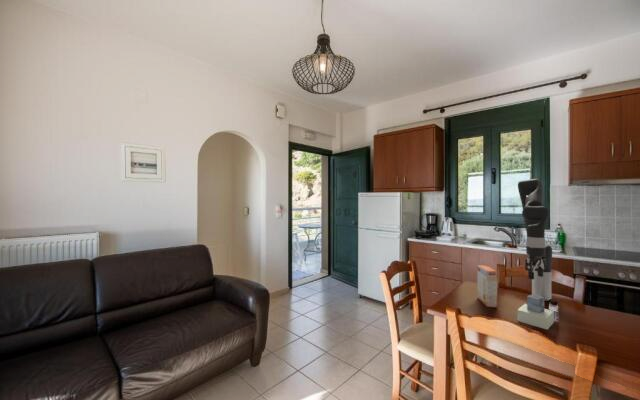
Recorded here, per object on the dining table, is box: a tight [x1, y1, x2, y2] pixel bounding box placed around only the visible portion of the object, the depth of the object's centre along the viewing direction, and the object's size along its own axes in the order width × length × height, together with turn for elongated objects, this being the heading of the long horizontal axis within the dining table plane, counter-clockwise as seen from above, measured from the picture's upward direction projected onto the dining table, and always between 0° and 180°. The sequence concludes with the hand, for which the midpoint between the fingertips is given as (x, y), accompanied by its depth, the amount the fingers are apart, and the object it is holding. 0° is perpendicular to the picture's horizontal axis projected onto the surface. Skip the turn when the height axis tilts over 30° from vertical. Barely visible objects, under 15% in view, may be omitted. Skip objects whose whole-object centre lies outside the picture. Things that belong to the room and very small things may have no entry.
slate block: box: [526, 294, 545, 313], centre depth 136 cm, size 5×5×7 cm
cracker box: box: [477, 264, 498, 308], centre depth 160 cm, size 14×6×21 cm, turn 168°
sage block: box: [516, 303, 555, 331], centre depth 136 cm, size 12×12×6 cm
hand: (535, 277), depth 136 cm, fingers open, 8 cm apart
